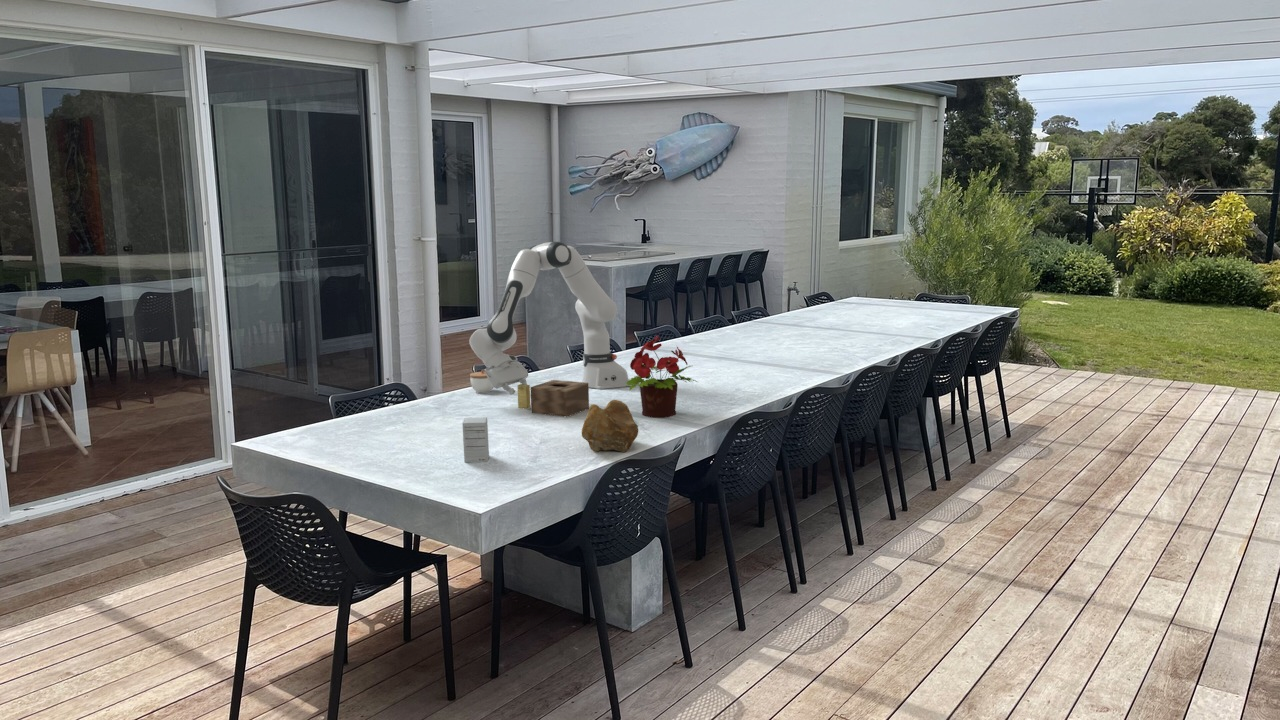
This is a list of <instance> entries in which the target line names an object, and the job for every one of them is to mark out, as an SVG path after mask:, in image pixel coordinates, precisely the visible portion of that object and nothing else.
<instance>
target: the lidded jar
mask: <svg viewBox="0 0 1280 720" xmlns="http://www.w3.org/2000/svg"><path fill="white" fill-rule="evenodd" d="M469 378H470V385H471V387H472V389H473V390H474V391H475V392H476V393H477V392H478V394H484V393H485V394H486V393H490V392H491V391H492V390H493V389H494V387H493V385H492V384H491V383H490V381H489V379H488V378H487V374H486V373H485V369H481V371H476V372H475V371H474V372H471V373H469Z"/></svg>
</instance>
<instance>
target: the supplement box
mask: <svg viewBox="0 0 1280 720" xmlns="http://www.w3.org/2000/svg"><path fill="white" fill-rule="evenodd" d="M488 426H489V425H488V417H485V416H481V417H465V418H463V421H462V438H463V439H462V441H463V456H464V457H463V458H464V459H463V460H464V463H481V462H482V463H483V462H488V461H489V457H490V450H489V449H490V448H489V430H488V428H489V427H488Z"/></svg>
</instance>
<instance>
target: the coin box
mask: <svg viewBox="0 0 1280 720" xmlns="http://www.w3.org/2000/svg"><path fill="white" fill-rule="evenodd" d="M589 389H590V388H589V386H588V383H584V382H582V381H571V380H561V379H560V380H557V379H551V380H549V381H548V380H547V381H545V382H542V383H539V384H536V385H533V386H530V409H531V411H530V412H531V414H537V415H545V414H546V415H545V416H548V415H549V416H554V415H555V416H557V417H564V416H566V417H567V418H568V417H571V416H574V415H576V414H578V413H581V412H583V411H586V410H589V408H590V401H589V400H590V393H589V391H590V390H589ZM585 409H586V410H585ZM580 411H581V412H580ZM575 413H576V414H575ZM570 415H571V416H570ZM566 417H565V418H566Z"/></svg>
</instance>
